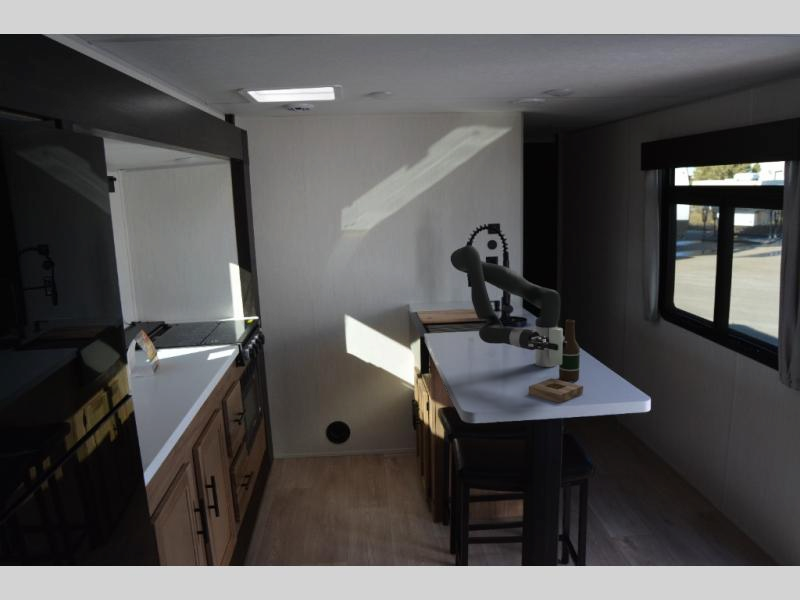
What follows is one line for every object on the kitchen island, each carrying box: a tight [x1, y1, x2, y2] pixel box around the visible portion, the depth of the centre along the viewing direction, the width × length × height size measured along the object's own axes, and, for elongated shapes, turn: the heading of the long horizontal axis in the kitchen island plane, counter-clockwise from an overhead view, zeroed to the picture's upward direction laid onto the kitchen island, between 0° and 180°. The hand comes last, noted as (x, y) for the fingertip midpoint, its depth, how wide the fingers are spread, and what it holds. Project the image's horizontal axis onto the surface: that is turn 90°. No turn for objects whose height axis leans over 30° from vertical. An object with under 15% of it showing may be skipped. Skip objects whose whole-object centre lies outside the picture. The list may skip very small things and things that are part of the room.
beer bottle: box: [558, 319, 581, 382], centre depth 242 cm, size 8×8×24 cm
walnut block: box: [528, 377, 584, 404], centre depth 226 cm, size 14×14×3 cm
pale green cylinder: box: [549, 326, 564, 366], centre depth 223 cm, size 5×5×13 cm
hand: (562, 346), depth 221 cm, fingers closed on pale green cylinder, 4 cm apart
